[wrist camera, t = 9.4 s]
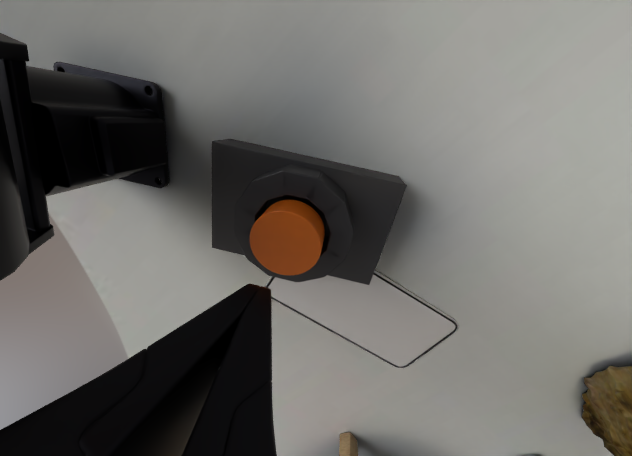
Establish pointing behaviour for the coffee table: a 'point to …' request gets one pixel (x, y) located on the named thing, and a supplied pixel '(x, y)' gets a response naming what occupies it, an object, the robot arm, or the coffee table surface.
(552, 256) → the coffee table surface
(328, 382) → the coffee table surface
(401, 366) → the smartphone
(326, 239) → the button block
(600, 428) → the seashell
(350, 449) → the planter
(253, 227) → the button
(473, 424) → the coffee table surface
